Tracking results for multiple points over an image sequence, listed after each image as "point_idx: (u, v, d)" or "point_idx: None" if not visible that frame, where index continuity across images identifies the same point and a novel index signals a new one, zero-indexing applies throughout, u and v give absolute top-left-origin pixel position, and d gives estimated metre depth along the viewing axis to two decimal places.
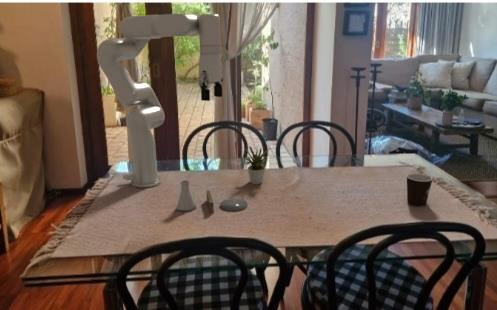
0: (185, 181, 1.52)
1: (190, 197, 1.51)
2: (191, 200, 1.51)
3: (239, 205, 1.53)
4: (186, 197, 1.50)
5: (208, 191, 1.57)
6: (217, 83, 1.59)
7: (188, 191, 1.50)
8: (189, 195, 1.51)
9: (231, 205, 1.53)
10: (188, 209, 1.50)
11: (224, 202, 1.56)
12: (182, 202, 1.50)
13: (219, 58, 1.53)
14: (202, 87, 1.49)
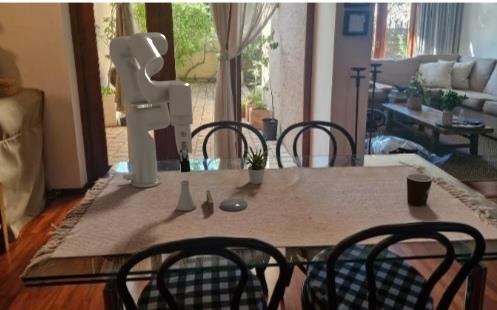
0: (185, 181, 1.52)
1: (190, 197, 1.51)
2: (191, 200, 1.51)
3: (239, 205, 1.53)
4: (186, 197, 1.50)
5: (208, 191, 1.57)
6: None
7: (188, 191, 1.50)
8: (189, 195, 1.51)
9: (231, 205, 1.53)
10: (188, 209, 1.50)
11: (224, 202, 1.56)
12: (182, 202, 1.50)
13: (175, 129, 1.42)
14: None
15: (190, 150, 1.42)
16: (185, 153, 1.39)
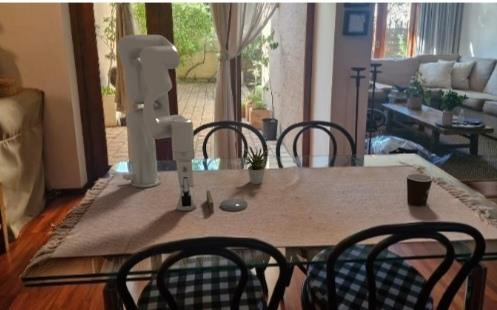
0: None
1: None
2: (191, 200, 1.51)
3: (239, 205, 1.53)
4: None
5: (208, 191, 1.57)
6: None
7: None
8: None
9: (231, 205, 1.53)
10: (188, 209, 1.50)
11: (224, 202, 1.56)
12: None
13: (177, 164, 1.46)
14: None
15: (191, 185, 1.46)
16: (187, 192, 1.44)
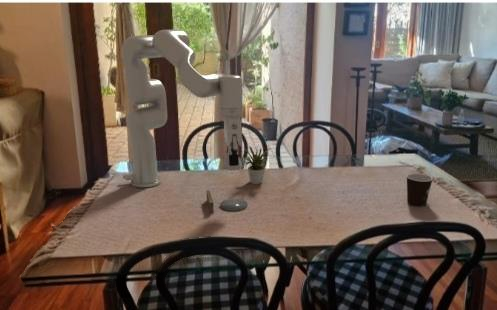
0: None
1: None
2: None
3: (239, 205, 1.53)
4: None
5: (208, 191, 1.57)
6: None
7: None
8: None
9: (231, 205, 1.53)
10: (235, 168, 1.47)
11: (224, 202, 1.56)
12: None
13: (225, 122, 1.43)
14: None
15: (240, 143, 1.43)
16: (236, 149, 1.42)
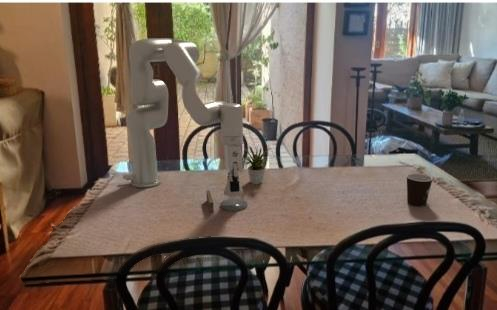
0: None
1: None
2: (239, 185, 1.51)
3: (239, 205, 1.53)
4: None
5: (208, 191, 1.57)
6: None
7: None
8: None
9: (231, 205, 1.53)
10: (236, 194, 1.50)
11: (224, 202, 1.56)
12: None
13: (226, 149, 1.46)
14: None
15: (241, 170, 1.46)
16: (236, 176, 1.44)
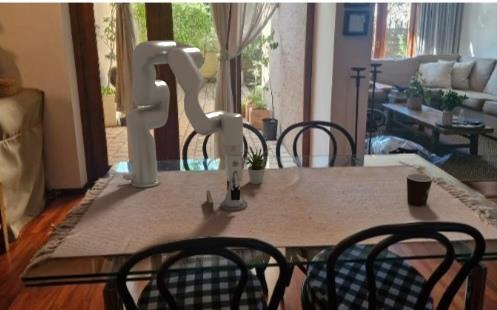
0: None
1: None
2: None
3: None
4: None
5: (208, 191, 1.57)
6: None
7: None
8: None
9: None
10: (236, 205, 1.51)
11: None
12: (230, 198, 1.51)
13: (227, 159, 1.47)
14: None
15: (241, 179, 1.47)
16: (237, 183, 1.44)
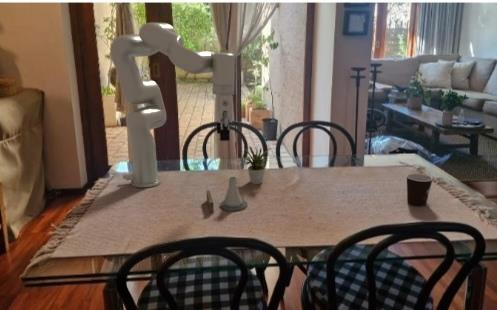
0: (232, 177, 1.53)
1: (238, 193, 1.52)
2: (239, 196, 1.52)
3: None
4: (234, 193, 1.51)
5: (208, 191, 1.57)
6: None
7: (236, 187, 1.52)
8: (237, 191, 1.52)
9: None
10: (236, 205, 1.51)
11: None
12: (230, 198, 1.51)
13: (217, 98, 1.46)
14: None
15: (230, 119, 1.46)
16: (227, 122, 1.43)
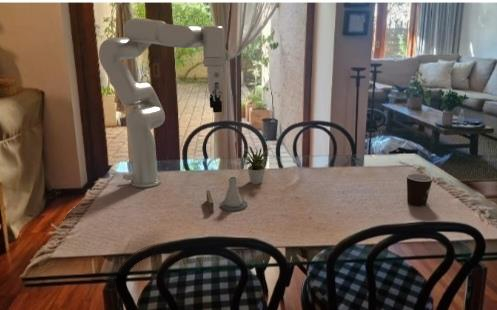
0: (232, 177, 1.53)
1: (238, 193, 1.52)
2: (239, 196, 1.52)
3: None
4: (234, 193, 1.51)
5: (208, 191, 1.57)
6: None
7: (236, 187, 1.52)
8: (237, 191, 1.52)
9: None
10: (236, 205, 1.51)
11: None
12: (230, 198, 1.51)
13: (208, 71, 1.49)
14: None
15: (222, 91, 1.49)
16: (218, 92, 1.46)
